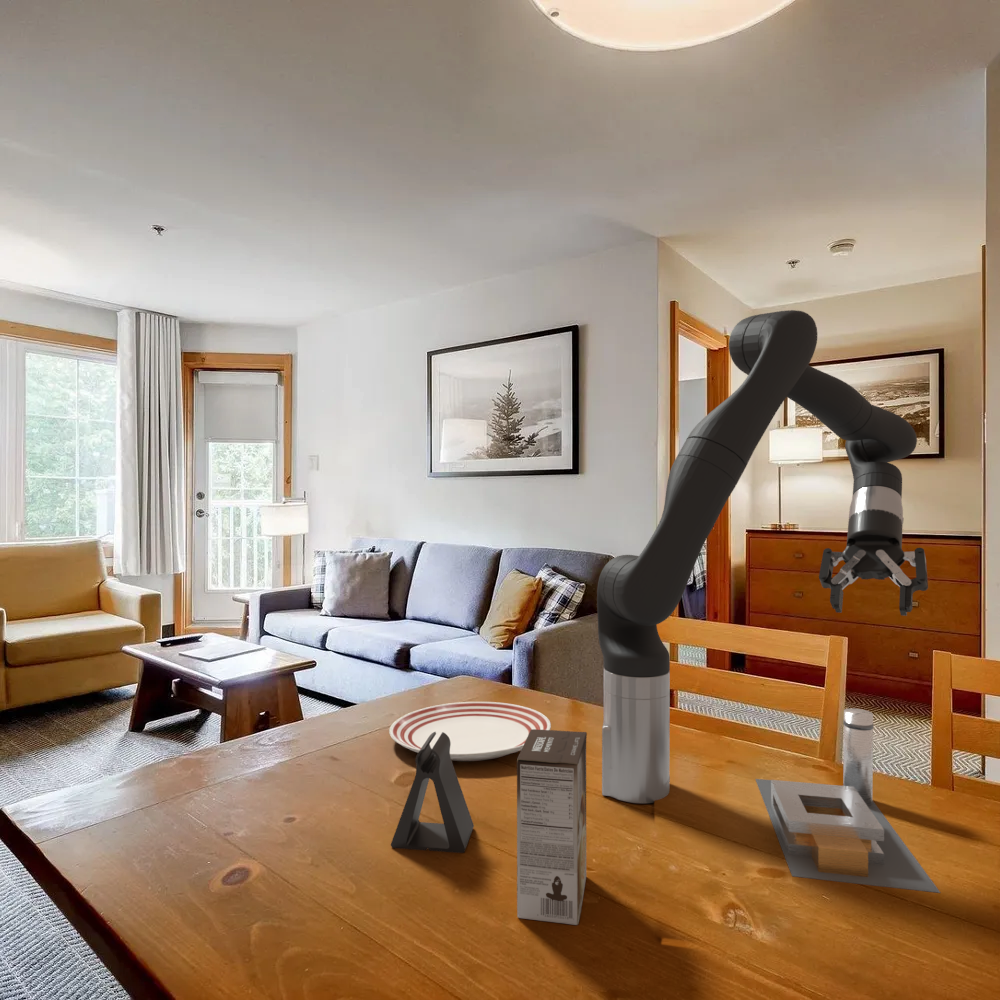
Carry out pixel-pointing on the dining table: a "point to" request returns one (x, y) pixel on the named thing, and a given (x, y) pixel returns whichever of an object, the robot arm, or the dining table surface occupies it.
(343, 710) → the dining table surface
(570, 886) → the coffee box
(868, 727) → the pin
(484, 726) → the dinner plate
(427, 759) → the dark triangular stand
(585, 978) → the dining table surface
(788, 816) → the clevis
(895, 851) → the mat
